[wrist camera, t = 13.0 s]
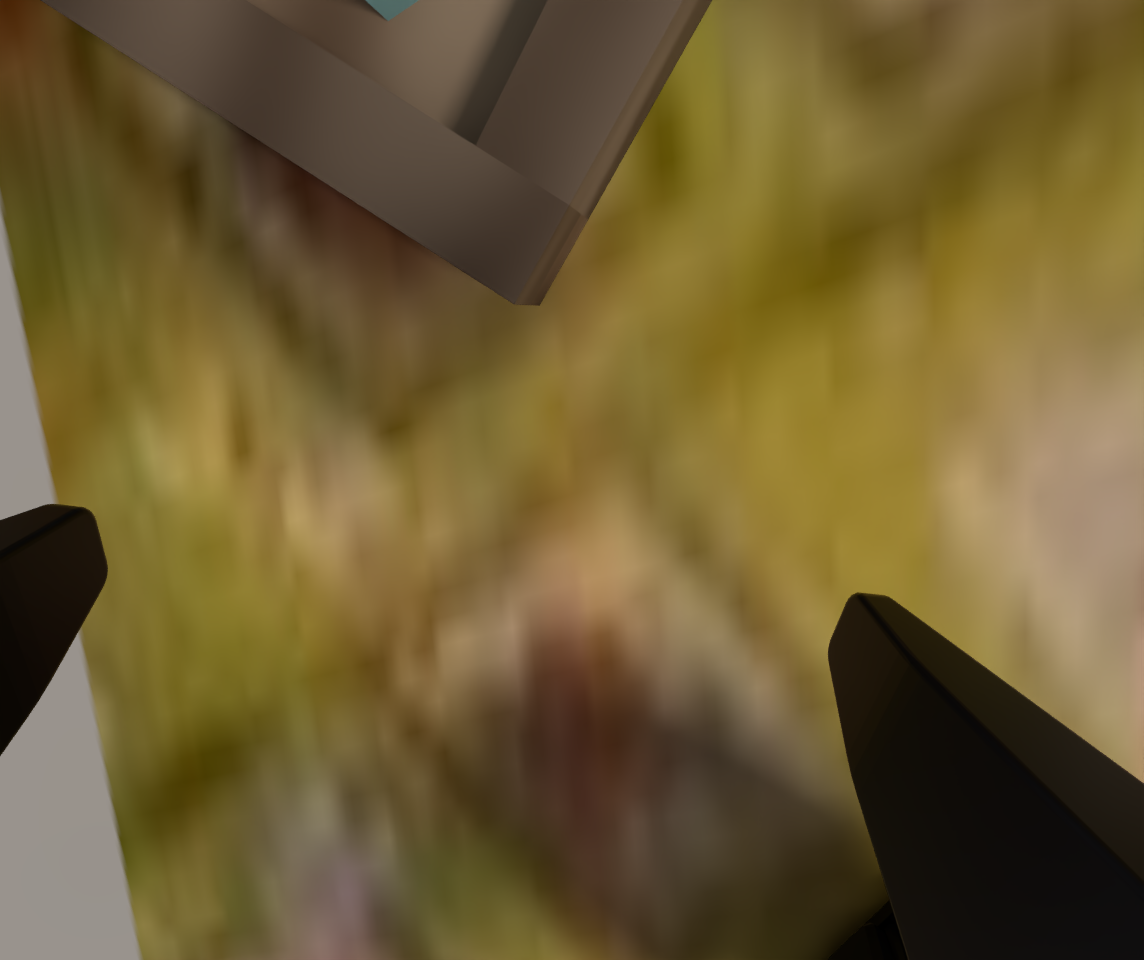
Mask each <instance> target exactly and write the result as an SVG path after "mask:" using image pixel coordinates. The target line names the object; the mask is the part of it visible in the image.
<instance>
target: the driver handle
mask: <svg viewBox="0 0 1144 960" xmlns="http://www.w3.org/2000/svg"><path fill="white" fill-rule="evenodd" d="M365 1H367V2H368V3H369V4H370V5H371V6H372V7H373V8H374V9H375V10H376V11H378V12H379V13H380V14H381V15H382V16H383V17H384V18H385V19H386V20H388V21H389V20H391V19H392V18H394V17H395V16H396V15H398V14H399V13H401V12H402V11H404V10H405V9H407V8H408V7H410V6H411V5H413V4H414V3H416V2H417V1H418V0H365Z"/></svg>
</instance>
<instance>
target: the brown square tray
mask: <svg viewBox="0 0 1144 960" xmlns="http://www.w3.org/2000/svg"><path fill="white" fill-rule="evenodd" d="M41 1H43V2H44V3H46V4H47V5H49V6H50V7H52V8H53V9H55V10H57V11H58V12H60V13H61V14H63V15H64V16H66V17H67V18H69V19H71V20H72V21H74V22H75V23H77V24H78V25H80V26H81V27H83V28H85V29H86V30H88V31H89V32H91V33H92V34H94V35H96V36H97V37H99V38H100V39H102V40H103V41H105V42H106V43H108V44H110V45H111V46H113V47H114V48H116V49H117V50H119V51H120V52H122V53H124V54H125V55H127V56H128V57H130V58H131V59H133V60H134V61H136V62H138V63H139V64H141V65H142V66H144V67H145V68H147V69H148V70H150V71H152V72H153V73H155V74H156V75H158V76H159V77H161V78H162V79H164V80H166V81H167V82H169V83H170V84H172V85H173V86H175V87H176V88H178V89H180V90H181V91H183V92H184V93H186V94H187V95H189V96H191V97H192V98H194V99H195V100H197V101H198V102H200V103H201V104H203V105H205V106H206V107H208V108H209V109H211V110H212V111H214V112H215V113H217V114H219V115H220V116H222V117H223V118H225V119H226V120H228V121H229V122H231V123H233V124H234V125H236V126H237V127H239V128H240V129H242V130H243V131H245V132H247V133H248V134H250V135H251V136H253V137H254V138H256V139H257V140H259V141H261V142H262V143H264V144H265V145H267V146H268V147H270V148H272V149H273V150H275V151H276V152H278V153H279V154H281V155H282V156H284V157H286V158H287V159H289V160H290V161H292V162H293V163H295V164H296V165H298V166H300V167H301V168H303V169H304V170H306V171H307V172H309V173H310V174H312V175H314V176H315V177H317V178H318V179H320V180H321V181H323V182H324V183H326V184H328V185H329V186H331V187H332V188H334V189H335V190H337V191H338V192H340V193H342V194H343V195H345V196H346V197H348V198H349V199H351V200H352V201H354V202H356V203H357V204H359V205H360V206H362V207H363V208H365V209H367V210H368V211H370V212H371V213H373V214H374V215H376V216H377V217H379V218H381V219H382V220H384V221H385V222H387V223H388V224H390V225H391V226H393V227H395V228H396V229H398V230H399V231H401V232H402V233H404V234H405V235H407V236H409V237H410V238H412V239H413V240H415V241H416V242H418V243H419V244H421V245H423V246H424V247H426V248H427V249H429V250H430V251H432V252H433V253H435V254H437V255H438V256H440V257H441V258H443V259H444V260H446V261H447V262H449V263H451V264H452V265H454V266H455V267H457V268H458V269H460V270H462V271H463V272H465V273H466V274H468V275H469V276H471V277H472V278H474V279H476V280H477V281H479V282H480V283H482V284H483V285H485V286H486V287H488V288H490V289H491V290H493V291H494V292H496V293H497V294H499V295H500V296H502V297H504V298H505V299H507V300H508V301H510V302H511V303H513V304H516V305H540V304H541V302H542V300H543V298H544V297H545V295H546V293H547V291H548V289H549V288H550V286H551V284H552V282H553V281H554V279H555V277H556V275H557V274H558V272H559V270H560V268H561V266H562V265H563V263H564V261H565V259H566V258H567V256H568V254H569V252H570V251H571V249H572V247H573V245H574V244H575V242H576V240H577V238H578V236H579V235H580V233H581V231H582V229H583V228H584V226H585V224H586V222H587V221H588V219H589V217H590V215H591V213H592V212H593V210H594V208H595V206H596V205H597V203H598V201H599V199H600V198H601V196H602V194H603V192H604V191H605V189H606V187H607V185H608V183H609V182H610V180H611V178H612V176H613V175H614V173H615V171H616V169H617V168H618V166H619V164H620V162H621V160H622V159H623V157H624V155H625V153H626V152H627V150H628V148H629V146H630V145H631V143H632V141H633V139H634V137H635V136H636V134H637V132H638V130H639V129H640V127H641V125H642V123H643V122H644V120H645V118H646V116H647V115H648V113H649V111H650V109H651V107H652V106H653V104H654V102H655V100H656V99H657V97H658V95H659V93H660V92H661V90H662V88H663V86H664V84H665V83H666V81H667V79H668V77H669V76H670V74H671V72H672V70H673V69H674V67H675V65H676V63H677V62H678V60H679V58H680V56H681V54H682V53H683V51H684V49H685V47H686V46H687V44H688V42H689V40H690V39H691V37H692V35H693V33H694V31H695V30H696V28H697V26H698V24H699V23H700V21H701V19H702V17H703V16H704V14H705V12H706V10H707V8H708V7H709V5H710V3H711V1H712V0H418V1H417V2H416V3H414V4H413V5H411V6H410V7H408V8H407V9H405V10H404V11H402V12H401V13H399V14H398V15H396V16H395V17H394V18H392V19H391V20H389V21H388V20H386V19H385V18H384V17H383V16H382V15H381V14H380V13H379V12H378V11H376V10H375V9H374V8H373V7H372V6H371V5H370V4H369V3H368V2H367V1H365V0H41Z"/></svg>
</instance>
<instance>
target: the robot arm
mask: <svg viewBox="0 0 1144 960" xmlns="http://www.w3.org/2000/svg"><path fill="white" fill-rule="evenodd" d="M107 573H108V566H107V560H106V556H105V553H104V549H103V545H102V541H101V537H100V534H99V530H98V526H97V522H96V519H95V516H94V515H93V514H92V512H91V511H90V510H88V509H86V508H84V507H77V506H68V505H59V504H47V505H43V506H40V507H38V508H35V509H32V510H29V511H26V512H23V513H20V514H17V515H14V516H11V517H8V518H5V519H3V520H0V756H1V754H2V753H3V752H4V750H5V749H6V747H7V746H8V744H9V743H10V742H11V740H12V739H13V737H14V736H15V735H16V733H17V732H18V730H19V729H20V727H21V726H22V725H23V723H24V722H25V720H26V719H27V717H28V716H29V714H30V713H31V711H32V710H33V708H34V707H35V705H36V704H37V702H38V701H39V699H40V698H41V696H42V694H43V693H44V691H45V689H46V688H47V686H48V684H49V683H50V681H51V680H52V678H53V676H54V674H55V672H56V670H57V669H58V667H59V665H60V663H61V662H62V660H63V658H64V656H65V654H66V653H67V651H68V649H69V647H70V646H71V644H72V642H73V640H74V638H75V637H76V635H77V633H78V631H79V630H80V628H81V626H82V624H83V622H84V621H85V619H86V617H87V615H88V613H89V612H90V610H91V608H92V606H93V604H94V603H95V601H96V599H97V597H98V596H99V594H100V592H101V590H102V588H103V586H104V584H105V581H106V578H107ZM828 661H829V666H830V672H831V677H832V682H833V687H834V692H835V697H836V702H837V707H838V713H839V718H840V723H841V728H842V733H843V738H844V743H845V748H846V753H847V758H848V763H849V767H850V771H851V776H852V779H853V783H854V786H855V790H856V793H857V797H858V800H859V803H860V806H861V810H862V813H863V816H864V819H865V822H866V826H867V829H868V832H869V835H870V838H871V842H872V845H873V848H874V851H875V854H876V858H877V861H878V864H879V867H880V871H881V874H882V877H883V880H884V883H885V887H886V890H887V893H888V896H889V899H890V901H889V902H888V903H886V904H885V905H884V906H883V907H882V908H881V909H880V910H879V911H878V912H877V913H876V914H875V915H874V916H873V917H872V918H871V919H870V920H869V921H868V922H867V923H866V924H865V925H864V926H862V927H861V928H860V929H859V930H858V931H857V932H856V933H854V934H853V935H852V936H851V937H850V938H849V939H848V940H847V941H846V942H845V943H844V944H843V945H842V946H841V947H840V948H839V949H838V950H837V951H836V952H835V953H834V954H833V955H832V956H831V957H830V958H829V959H828V960H1144V783H1143V782H1141V781H1140V780H1138V779H1137V778H1136V777H1134V776H1133V775H1132V774H1130V773H1129V772H1128V771H1126V770H1125V769H1123V768H1122V767H1121V766H1119V765H1118V764H1117V763H1115V762H1114V761H1112V760H1111V759H1110V758H1108V757H1107V756H1106V755H1104V754H1103V753H1102V752H1100V751H1099V750H1097V749H1096V748H1095V747H1093V746H1092V745H1091V744H1089V743H1088V742H1087V741H1085V740H1084V739H1082V738H1081V737H1080V736H1078V735H1077V734H1076V733H1074V732H1073V731H1072V730H1070V729H1069V728H1067V727H1066V726H1065V725H1063V724H1062V723H1061V722H1059V721H1058V720H1057V719H1055V718H1054V717H1052V716H1051V715H1050V714H1048V713H1047V712H1046V711H1044V710H1043V709H1042V708H1040V707H1039V706H1037V705H1036V704H1035V703H1033V702H1032V701H1031V700H1029V699H1028V698H1027V697H1025V696H1024V695H1022V694H1021V693H1020V692H1018V691H1017V690H1016V689H1014V688H1013V687H1012V686H1010V685H1009V684H1007V683H1006V682H1005V681H1003V680H1002V679H1001V678H999V677H998V676H997V675H995V674H994V673H992V672H991V671H990V670H988V669H987V668H986V667H984V666H983V665H982V664H980V663H979V662H977V661H976V660H975V659H973V658H972V657H971V656H969V655H968V654H967V653H965V652H964V651H962V650H961V649H960V648H958V647H957V646H956V645H954V644H953V643H952V642H950V641H949V640H947V639H946V638H945V637H943V636H942V635H941V634H939V633H938V632H937V631H935V630H934V629H932V628H931V627H930V626H928V625H927V624H926V623H924V622H923V621H922V620H920V619H919V618H917V617H916V616H915V615H913V614H912V613H911V612H909V611H908V610H907V609H905V608H904V607H902V606H901V605H900V604H898V603H897V602H896V601H894V600H893V599H891V598H890V597H888V596H885V595H877V594H868V593H855V594H853V595H851V597H850V598H849V599H848V601H847V602H846V604H845V607H844V609H843V612H842V614H841V616H840V619H839V621H838V623H837V626H836V628H835V630H834V633H833V635H832V637H831V640H830V643H829V648H828Z"/></svg>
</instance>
